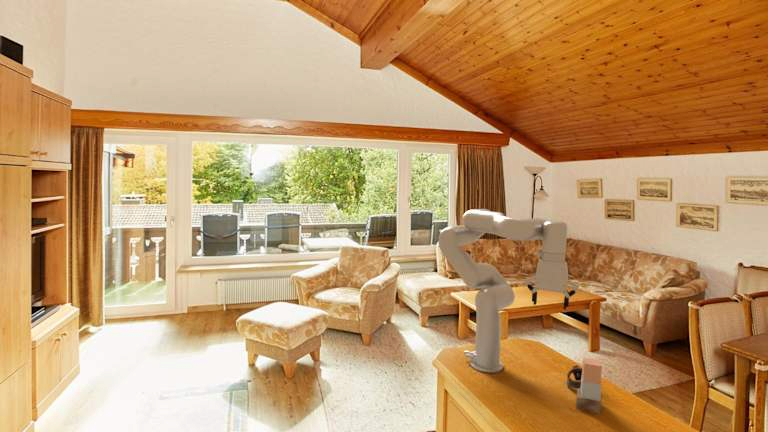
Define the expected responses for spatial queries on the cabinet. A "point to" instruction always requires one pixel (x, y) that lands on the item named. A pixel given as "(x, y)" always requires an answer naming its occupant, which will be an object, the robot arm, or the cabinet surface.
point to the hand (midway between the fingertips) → (549, 306)
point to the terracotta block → (591, 370)
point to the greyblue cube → (590, 390)
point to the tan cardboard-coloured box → (587, 404)
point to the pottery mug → (577, 374)
